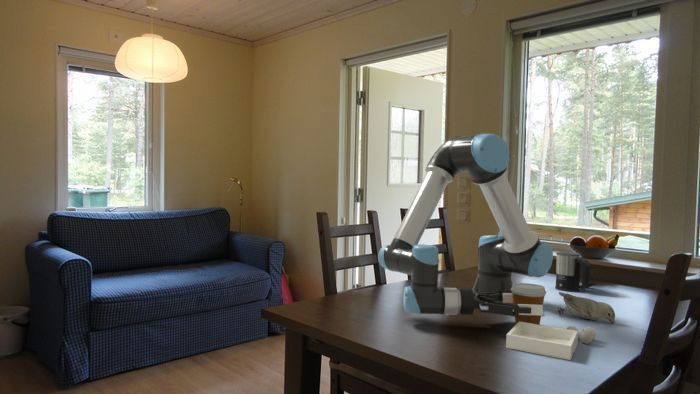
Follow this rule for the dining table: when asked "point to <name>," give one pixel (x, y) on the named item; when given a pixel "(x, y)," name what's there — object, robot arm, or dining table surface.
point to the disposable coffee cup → (528, 299)
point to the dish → (542, 340)
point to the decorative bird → (587, 308)
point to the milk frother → (572, 272)
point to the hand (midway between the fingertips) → (533, 304)
